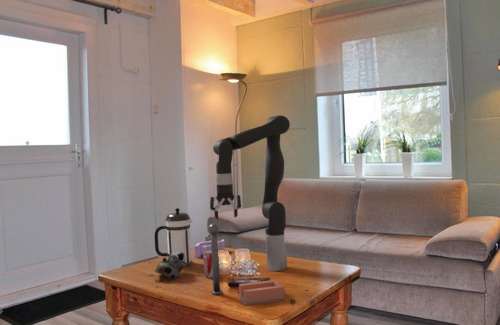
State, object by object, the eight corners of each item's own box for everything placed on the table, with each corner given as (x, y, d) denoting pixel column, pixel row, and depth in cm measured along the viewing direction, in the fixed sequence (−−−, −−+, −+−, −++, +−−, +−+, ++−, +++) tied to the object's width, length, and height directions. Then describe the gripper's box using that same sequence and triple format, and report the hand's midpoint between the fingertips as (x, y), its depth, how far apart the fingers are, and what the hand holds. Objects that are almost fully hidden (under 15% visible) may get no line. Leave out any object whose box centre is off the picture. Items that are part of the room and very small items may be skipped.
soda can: (217, 278, 202) (216, 253, 202) (202, 278, 204) (201, 253, 203) (221, 274, 209) (220, 249, 209) (207, 273, 211) (206, 249, 210)
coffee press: (181, 258, 242) (178, 205, 241) (200, 263, 231) (197, 207, 230) (155, 266, 230) (152, 209, 229) (173, 271, 219) (170, 211, 218)
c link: (277, 290, 181) (276, 279, 181) (284, 298, 171) (284, 286, 171) (239, 295, 177) (239, 284, 177) (245, 303, 168) (244, 291, 167)
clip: (213, 249, 261) (212, 238, 261) (229, 251, 254) (229, 240, 254) (190, 257, 244) (190, 245, 244) (208, 260, 237) (207, 247, 237)
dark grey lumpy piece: (159, 272, 217) (171, 246, 220) (181, 282, 215) (192, 255, 217) (150, 272, 203) (162, 244, 205) (172, 282, 200) (185, 254, 203)
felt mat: (275, 290, 182) (275, 289, 182) (285, 300, 170) (284, 299, 170) (238, 295, 178) (238, 294, 178) (245, 305, 166) (245, 304, 166)
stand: (221, 291, 185) (217, 222, 183) (223, 294, 180) (219, 224, 179) (210, 292, 183) (207, 223, 182) (212, 295, 179) (209, 225, 178)
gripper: (237, 181, 207) (239, 215, 207) (208, 183, 203) (209, 218, 204) (241, 182, 199) (243, 218, 200) (210, 184, 196) (212, 220, 197)
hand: (226, 218), depth 202 cm, fingers open, 8 cm apart
